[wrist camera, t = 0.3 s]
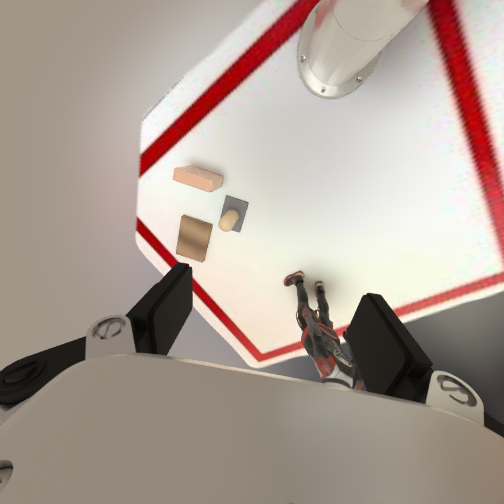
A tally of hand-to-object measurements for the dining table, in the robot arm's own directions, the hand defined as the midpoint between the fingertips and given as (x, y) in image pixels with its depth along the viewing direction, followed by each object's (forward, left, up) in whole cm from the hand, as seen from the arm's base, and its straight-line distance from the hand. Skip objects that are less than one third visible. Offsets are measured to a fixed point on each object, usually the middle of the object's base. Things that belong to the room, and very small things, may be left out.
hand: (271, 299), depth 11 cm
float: (+7, -7, -35) cm, 37 cm away
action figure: (+18, +16, -35) cm, 43 cm away
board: (+16, -15, -35) cm, 41 cm away
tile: (+1, -15, -35) cm, 38 cm away
